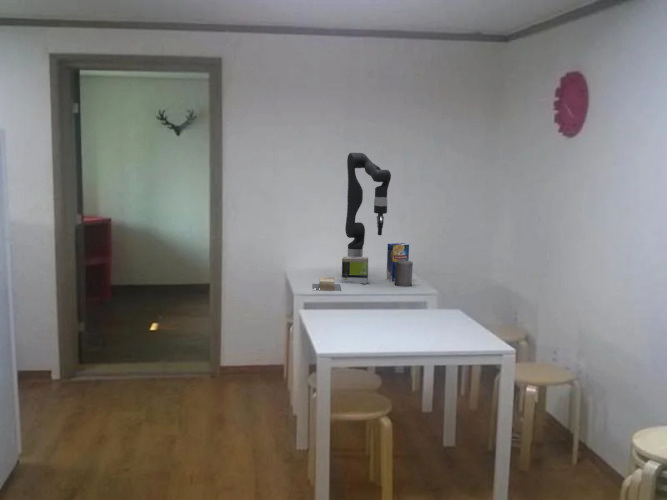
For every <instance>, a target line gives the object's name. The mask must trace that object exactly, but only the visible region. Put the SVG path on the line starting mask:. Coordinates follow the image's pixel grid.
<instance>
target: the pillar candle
mask: <svg viewBox="0 0 667 500" xmlns="http://www.w3.org/2000/svg"><path fill="white" fill-rule="evenodd" d="M413 264H414V263H413V261H411V260H409V261H405V259H404V260H400V261H396V277H395V282H394V285H395V286H397V287H398V286H399V287H411V286H412V284H413ZM410 285H411V286H410Z"/></svg>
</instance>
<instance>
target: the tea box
mask: <svg viewBox="0 0 667 500" xmlns="http://www.w3.org/2000/svg"><path fill="white" fill-rule="evenodd" d="M368 281H369V257H368V256H363V257H348V256H343V257H342V259H341V283H343V284H362V285H365V284H368Z"/></svg>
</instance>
